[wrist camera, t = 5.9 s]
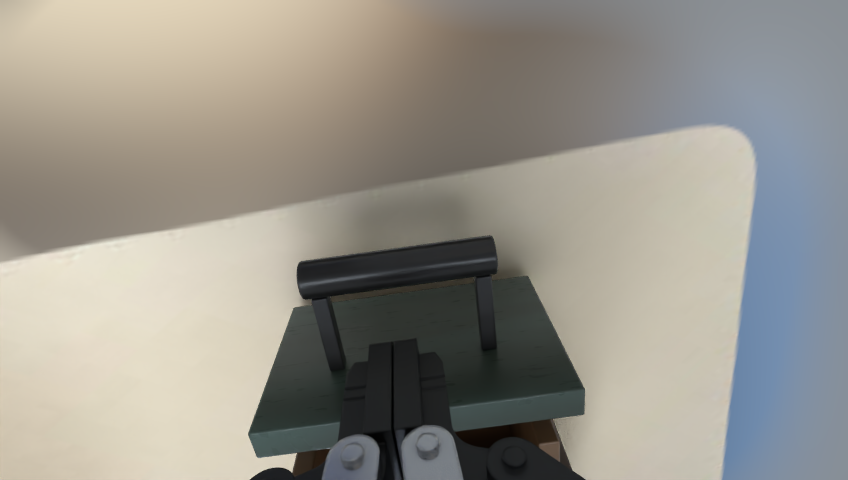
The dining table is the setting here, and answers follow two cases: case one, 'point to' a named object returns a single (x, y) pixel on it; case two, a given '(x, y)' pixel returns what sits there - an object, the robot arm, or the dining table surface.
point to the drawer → (435, 331)
